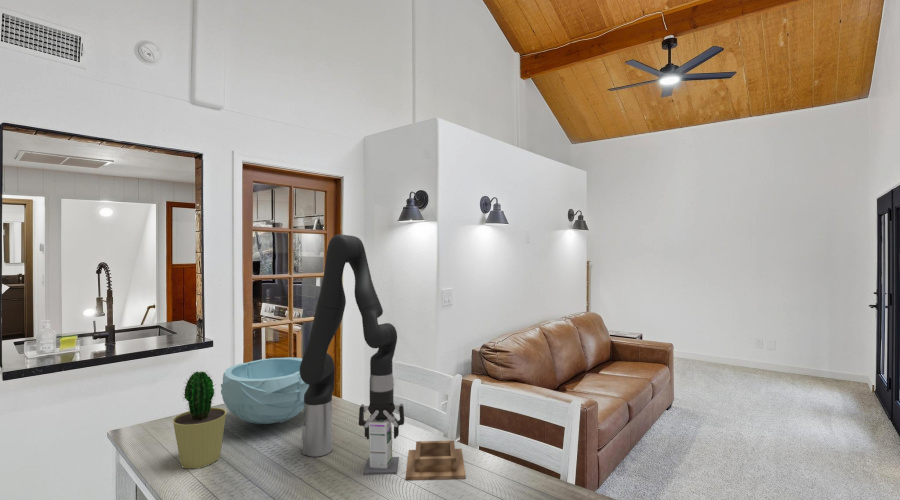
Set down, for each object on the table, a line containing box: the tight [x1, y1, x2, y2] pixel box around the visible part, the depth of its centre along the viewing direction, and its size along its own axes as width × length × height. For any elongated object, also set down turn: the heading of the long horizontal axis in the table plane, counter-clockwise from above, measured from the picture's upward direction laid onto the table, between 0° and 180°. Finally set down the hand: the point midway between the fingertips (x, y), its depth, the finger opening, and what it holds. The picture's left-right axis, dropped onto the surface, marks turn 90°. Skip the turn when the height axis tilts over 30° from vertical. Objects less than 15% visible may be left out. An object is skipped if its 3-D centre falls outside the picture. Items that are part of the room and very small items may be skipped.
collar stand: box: [405, 440, 467, 481], centre depth 145 cm, size 18×18×5 cm
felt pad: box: [363, 456, 400, 475], centre depth 145 cm, size 10×10×1 cm
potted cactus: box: [172, 370, 228, 469], centre depth 149 cm, size 15×15×30 cm
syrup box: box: [368, 418, 393, 469], centre depth 145 cm, size 6×6×14 cm
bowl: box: [220, 356, 309, 425], centre depth 181 cm, size 35×35×22 cm
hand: (381, 437), depth 145 cm, fingers open, 8 cm apart
